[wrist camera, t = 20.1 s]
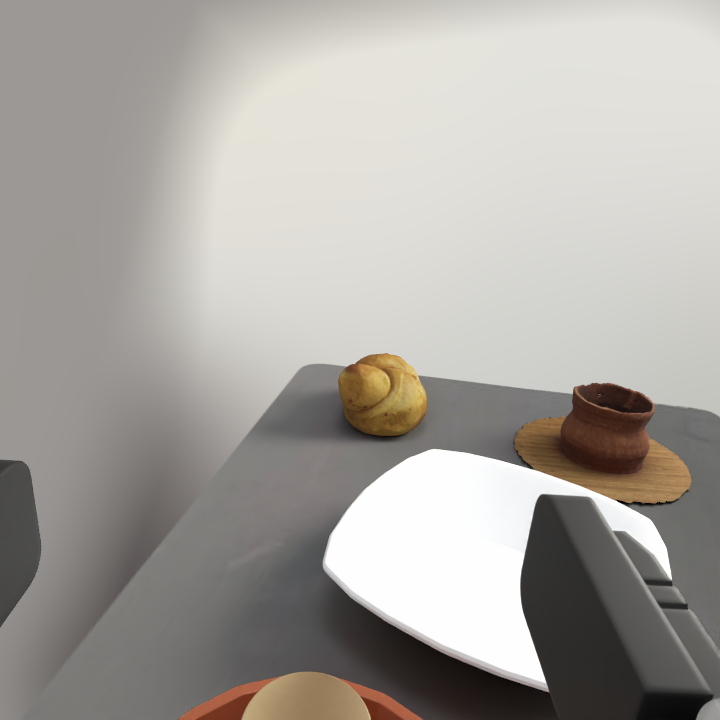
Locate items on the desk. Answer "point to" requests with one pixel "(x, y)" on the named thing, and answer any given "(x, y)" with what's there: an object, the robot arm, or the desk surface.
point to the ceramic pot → (605, 447)
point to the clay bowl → (227, 709)
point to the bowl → (457, 554)
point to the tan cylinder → (306, 699)
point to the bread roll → (382, 395)
